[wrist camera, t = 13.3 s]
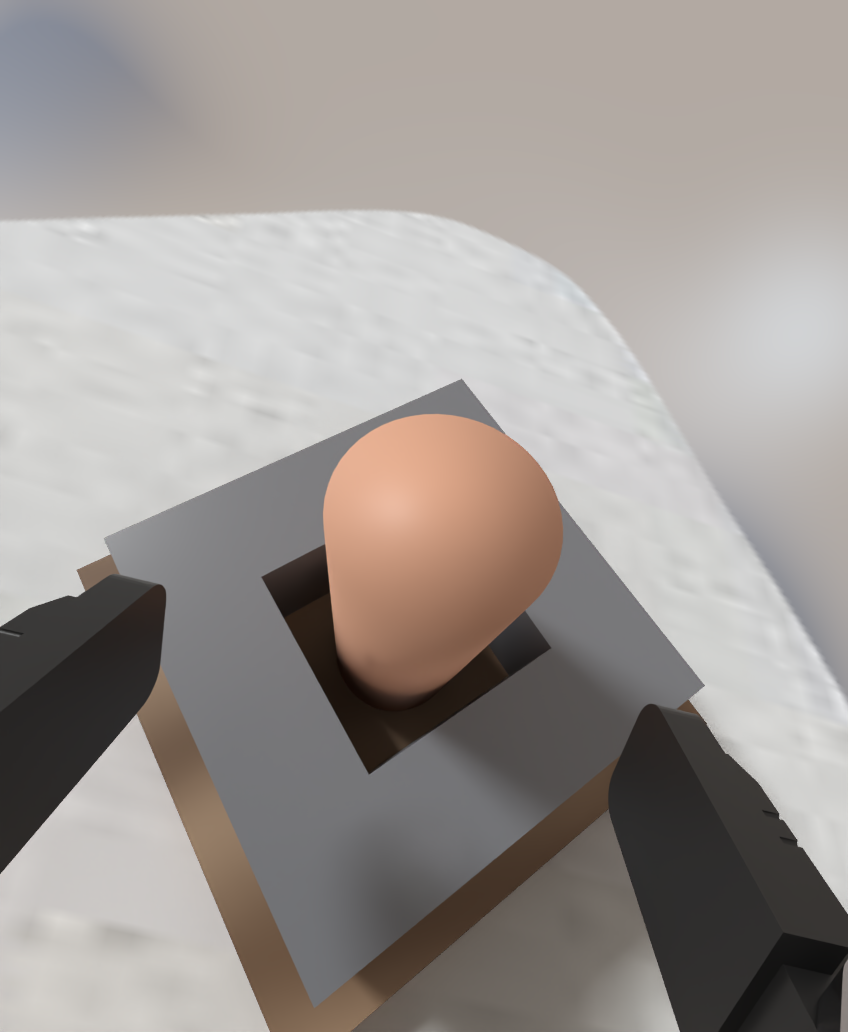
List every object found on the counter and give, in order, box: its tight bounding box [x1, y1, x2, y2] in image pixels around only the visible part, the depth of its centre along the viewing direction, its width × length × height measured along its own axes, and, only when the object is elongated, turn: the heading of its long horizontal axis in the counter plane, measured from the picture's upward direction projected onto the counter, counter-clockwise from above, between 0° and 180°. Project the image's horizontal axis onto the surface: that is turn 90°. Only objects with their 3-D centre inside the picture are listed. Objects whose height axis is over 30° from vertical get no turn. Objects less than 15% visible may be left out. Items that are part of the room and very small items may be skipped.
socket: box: [104, 379, 705, 1008], centre depth 17 cm, size 12×12×4 cm
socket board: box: [77, 555, 707, 1032], centre depth 19 cm, size 16×16×2 cm
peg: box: [323, 414, 563, 711], centre depth 14 cm, size 4×4×11 cm
